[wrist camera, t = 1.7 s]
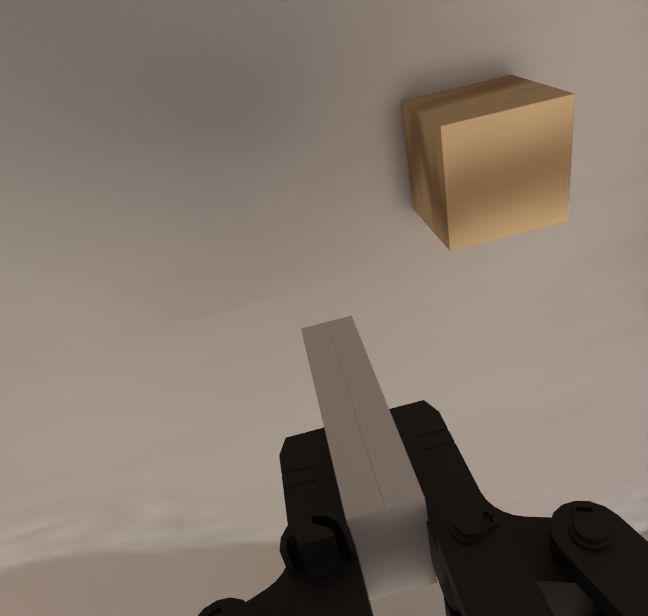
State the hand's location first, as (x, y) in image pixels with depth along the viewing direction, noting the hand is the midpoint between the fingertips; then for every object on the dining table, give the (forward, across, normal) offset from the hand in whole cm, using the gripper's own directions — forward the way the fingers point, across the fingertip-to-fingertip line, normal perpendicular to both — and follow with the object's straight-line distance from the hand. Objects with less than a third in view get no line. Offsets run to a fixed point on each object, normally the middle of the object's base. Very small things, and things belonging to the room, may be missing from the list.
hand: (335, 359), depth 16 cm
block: (+16, +10, 0) cm, 19 cm away
